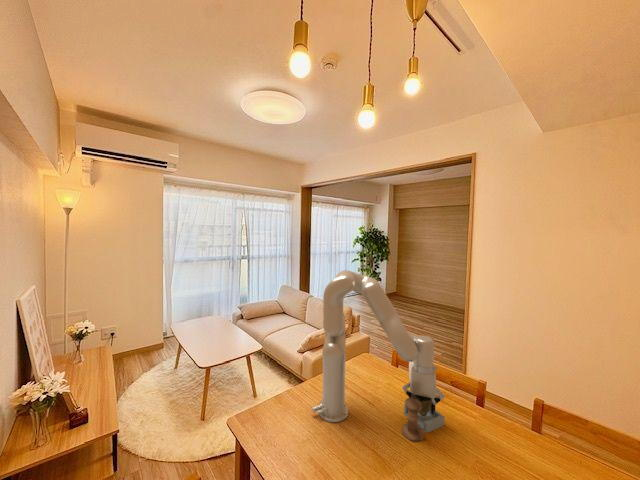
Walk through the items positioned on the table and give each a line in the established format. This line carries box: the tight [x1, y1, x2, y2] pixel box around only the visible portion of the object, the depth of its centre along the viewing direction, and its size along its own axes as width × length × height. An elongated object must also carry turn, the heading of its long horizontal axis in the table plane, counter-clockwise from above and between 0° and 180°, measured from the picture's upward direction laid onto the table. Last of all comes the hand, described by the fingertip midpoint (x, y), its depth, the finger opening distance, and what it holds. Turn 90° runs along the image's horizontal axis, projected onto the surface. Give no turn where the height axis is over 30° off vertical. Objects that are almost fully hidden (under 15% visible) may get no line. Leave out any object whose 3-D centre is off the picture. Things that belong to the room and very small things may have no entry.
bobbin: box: [401, 397, 424, 443], centre depth 98 cm, size 8×8×12 cm
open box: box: [403, 404, 446, 434], centre depth 106 cm, size 10×12×4 cm
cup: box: [414, 395, 432, 416], centre depth 106 cm, size 8×7×8 cm
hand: (422, 409), depth 106 cm, fingers closed on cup, 6 cm apart
